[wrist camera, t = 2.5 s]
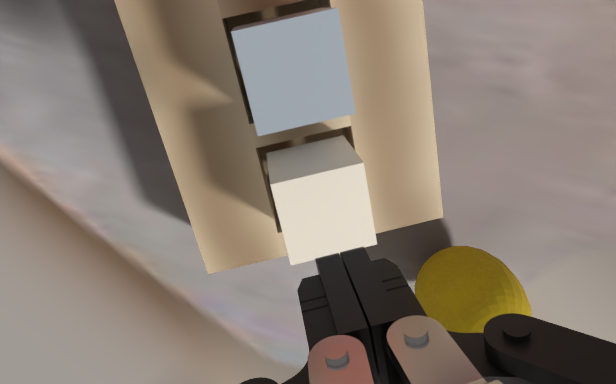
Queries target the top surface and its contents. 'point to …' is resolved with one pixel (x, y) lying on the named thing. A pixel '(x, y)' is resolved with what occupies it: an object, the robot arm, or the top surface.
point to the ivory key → (321, 199)
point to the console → (252, 148)
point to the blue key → (294, 69)
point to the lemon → (468, 289)
